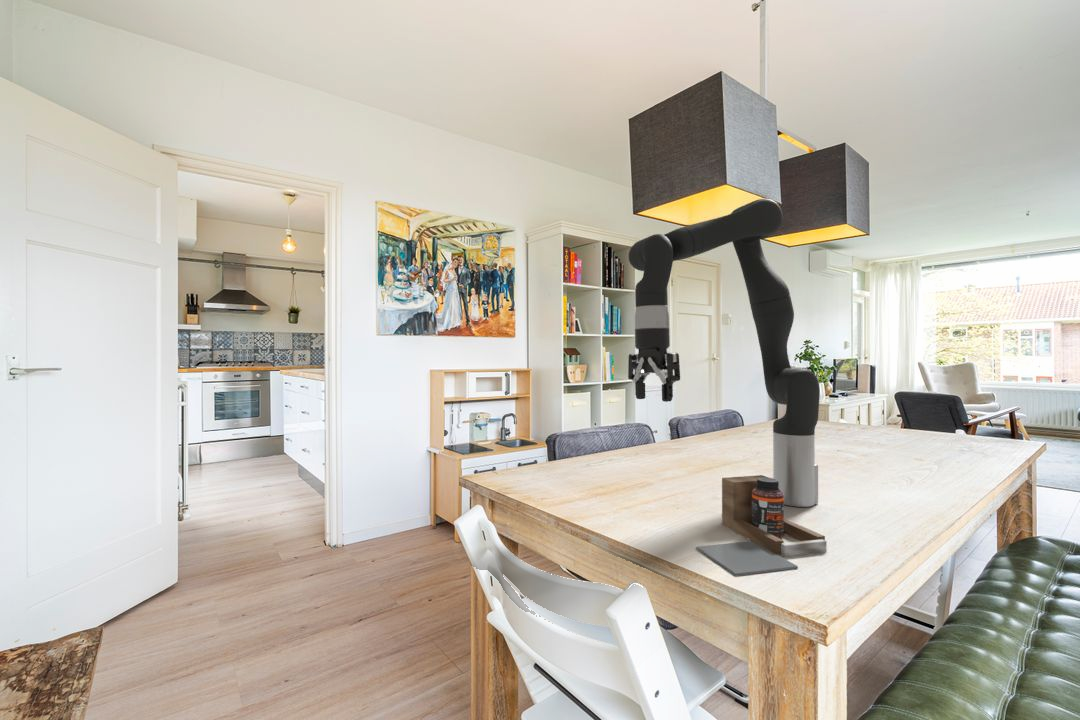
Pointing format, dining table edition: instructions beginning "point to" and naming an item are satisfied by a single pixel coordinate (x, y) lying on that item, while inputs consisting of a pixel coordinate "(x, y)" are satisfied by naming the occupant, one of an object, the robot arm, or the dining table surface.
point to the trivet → (745, 558)
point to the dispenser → (740, 520)
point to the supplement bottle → (768, 506)
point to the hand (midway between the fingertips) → (653, 400)
